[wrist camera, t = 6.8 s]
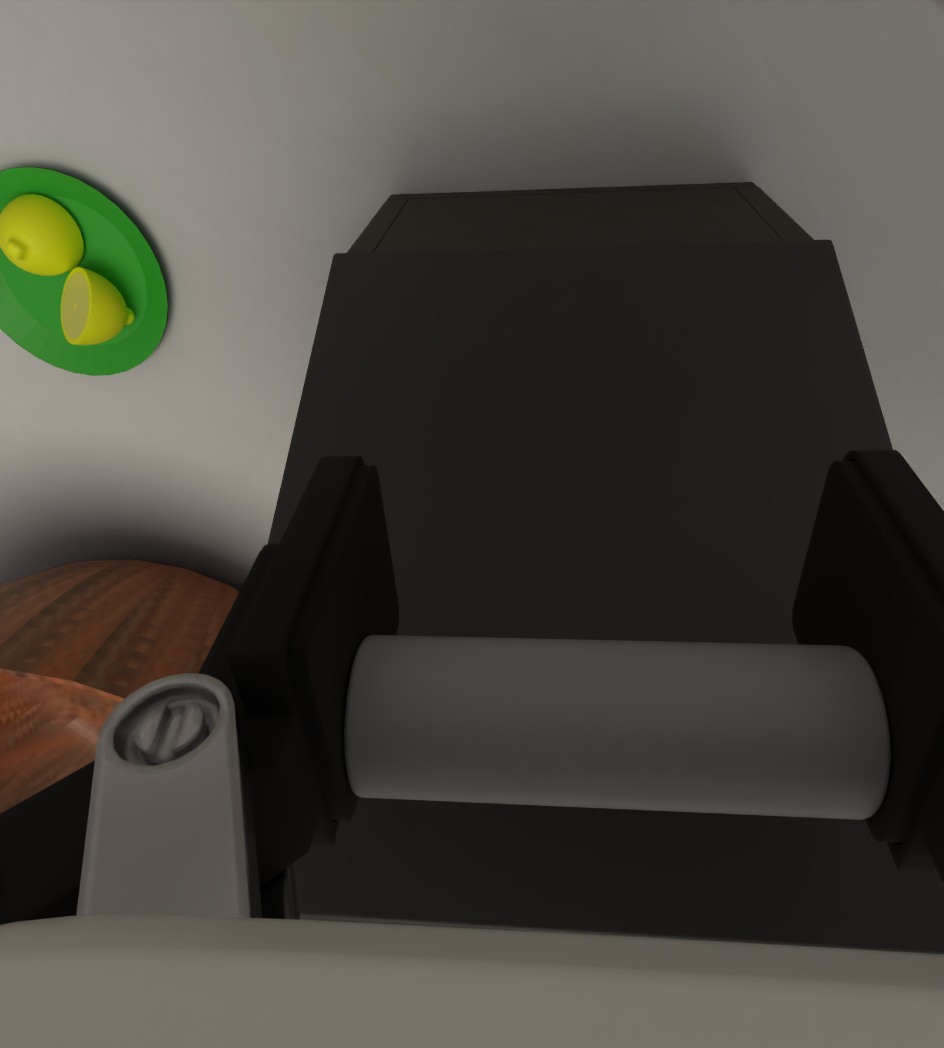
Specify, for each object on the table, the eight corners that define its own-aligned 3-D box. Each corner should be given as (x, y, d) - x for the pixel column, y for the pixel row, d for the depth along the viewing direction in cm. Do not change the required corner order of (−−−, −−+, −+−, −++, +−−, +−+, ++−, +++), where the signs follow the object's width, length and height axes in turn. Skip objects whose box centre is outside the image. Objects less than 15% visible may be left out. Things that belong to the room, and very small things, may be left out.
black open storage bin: (698, 527, 34) (733, 651, 27) (425, 525, 35) (398, 643, 29) (753, 181, 25) (822, 246, 19) (389, 194, 26) (340, 259, 20)
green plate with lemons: (206, 254, 28) (175, 278, 26) (133, 403, 32) (101, 435, 30) (-3, 113, 26) (-56, 125, 24) (-53, 293, 30) (-102, 318, 28)
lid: (1015, 964, 11) (1336, 960, 7) (201, 914, 12) (9, 882, 8) (822, 264, 19) (908, 47, 14) (339, 276, 20) (283, 79, 16)
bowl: (350, 833, 51) (307, 1021, 42) (-21, 743, 48) (-156, 921, 39) (449, 570, 36) (415, 768, 27) (-75, 420, 34) (-309, 583, 25)
